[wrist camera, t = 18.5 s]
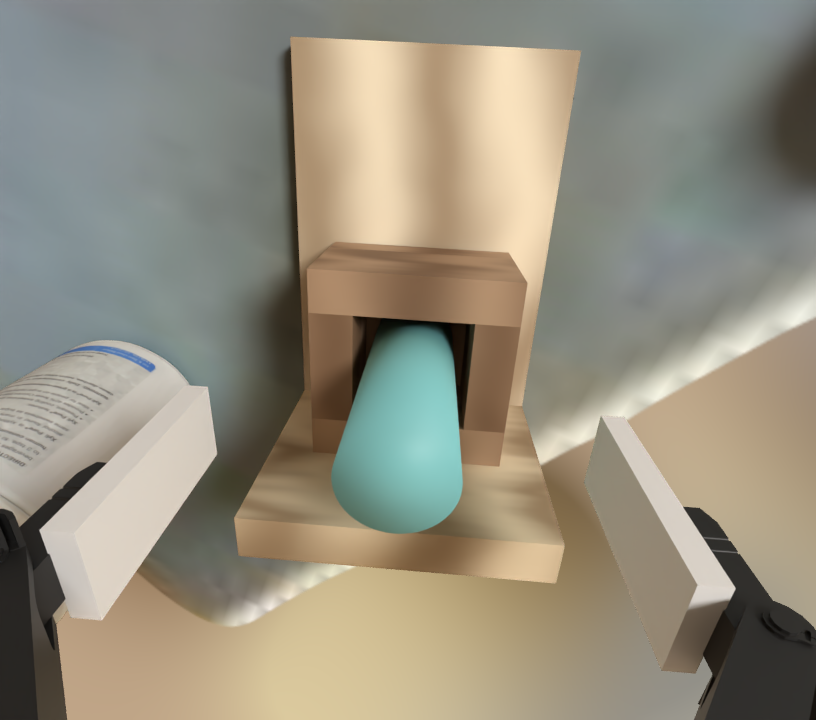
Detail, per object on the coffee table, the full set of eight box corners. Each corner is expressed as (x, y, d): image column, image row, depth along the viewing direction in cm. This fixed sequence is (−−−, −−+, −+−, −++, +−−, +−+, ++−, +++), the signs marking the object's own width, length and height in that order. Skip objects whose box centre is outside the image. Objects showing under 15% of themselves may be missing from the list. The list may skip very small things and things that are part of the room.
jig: (309, 410, 31) (238, 555, 20) (296, 41, 23) (164, -53, 12) (514, 426, 31) (555, 583, 20) (575, 54, 22) (702, -30, 12)
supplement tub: (33, 393, 32) (-263, 574, 18) (116, 303, 29) (-164, 442, 16) (151, 487, 35) (-33, 706, 21) (238, 414, 32) (88, 614, 18)
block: (336, 394, 29) (312, 452, 24) (335, 241, 25) (306, 268, 20) (488, 405, 29) (499, 466, 23) (508, 252, 25) (527, 283, 20)
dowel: (377, 299, 25) (331, 420, 14) (455, 305, 25) (469, 432, 14) (375, 370, 27) (331, 528, 16) (448, 376, 27) (455, 538, 16)
